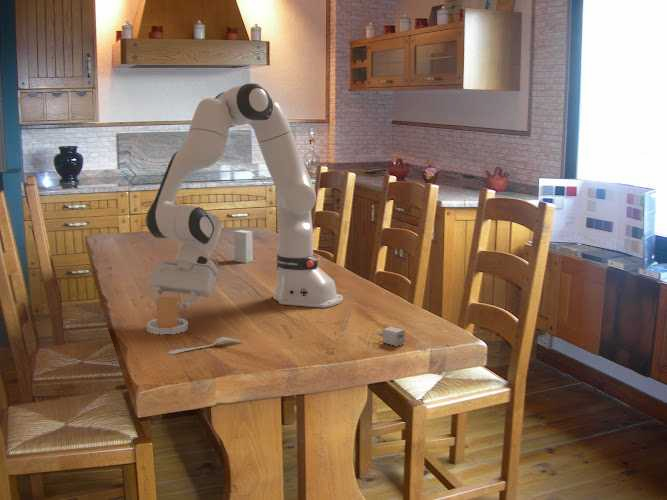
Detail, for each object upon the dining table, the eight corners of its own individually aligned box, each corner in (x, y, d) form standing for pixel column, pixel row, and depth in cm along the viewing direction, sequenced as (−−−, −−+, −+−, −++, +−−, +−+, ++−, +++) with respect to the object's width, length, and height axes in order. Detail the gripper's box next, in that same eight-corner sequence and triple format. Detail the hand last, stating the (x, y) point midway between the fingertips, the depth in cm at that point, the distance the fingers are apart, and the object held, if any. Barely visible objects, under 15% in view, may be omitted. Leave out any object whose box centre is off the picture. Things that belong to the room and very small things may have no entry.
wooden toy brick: (177, 325, 216) (176, 298, 215) (169, 329, 213) (168, 301, 211) (166, 323, 218) (165, 296, 216) (157, 327, 214) (156, 299, 213)
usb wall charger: (395, 347, 202) (395, 332, 201) (374, 341, 207) (375, 327, 206) (404, 343, 205) (405, 329, 204) (384, 338, 210) (384, 324, 209)
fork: (165, 362, 196) (164, 352, 196) (240, 341, 206) (239, 331, 206) (169, 365, 194) (168, 355, 193) (245, 344, 204) (244, 334, 203)
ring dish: (195, 326, 218) (195, 320, 218) (171, 336, 208) (171, 331, 208) (163, 321, 222) (163, 315, 222) (138, 331, 213) (138, 325, 212)
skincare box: (253, 261, 304) (252, 231, 301) (246, 263, 300) (245, 232, 298) (240, 259, 307) (240, 229, 304) (234, 261, 303) (233, 231, 301)
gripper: (155, 254, 224) (135, 294, 217) (215, 260, 215) (196, 303, 208) (165, 266, 228) (146, 306, 222) (224, 272, 220) (206, 314, 213)
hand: (171, 304), depth 215 cm, fingers open, 8 cm apart
